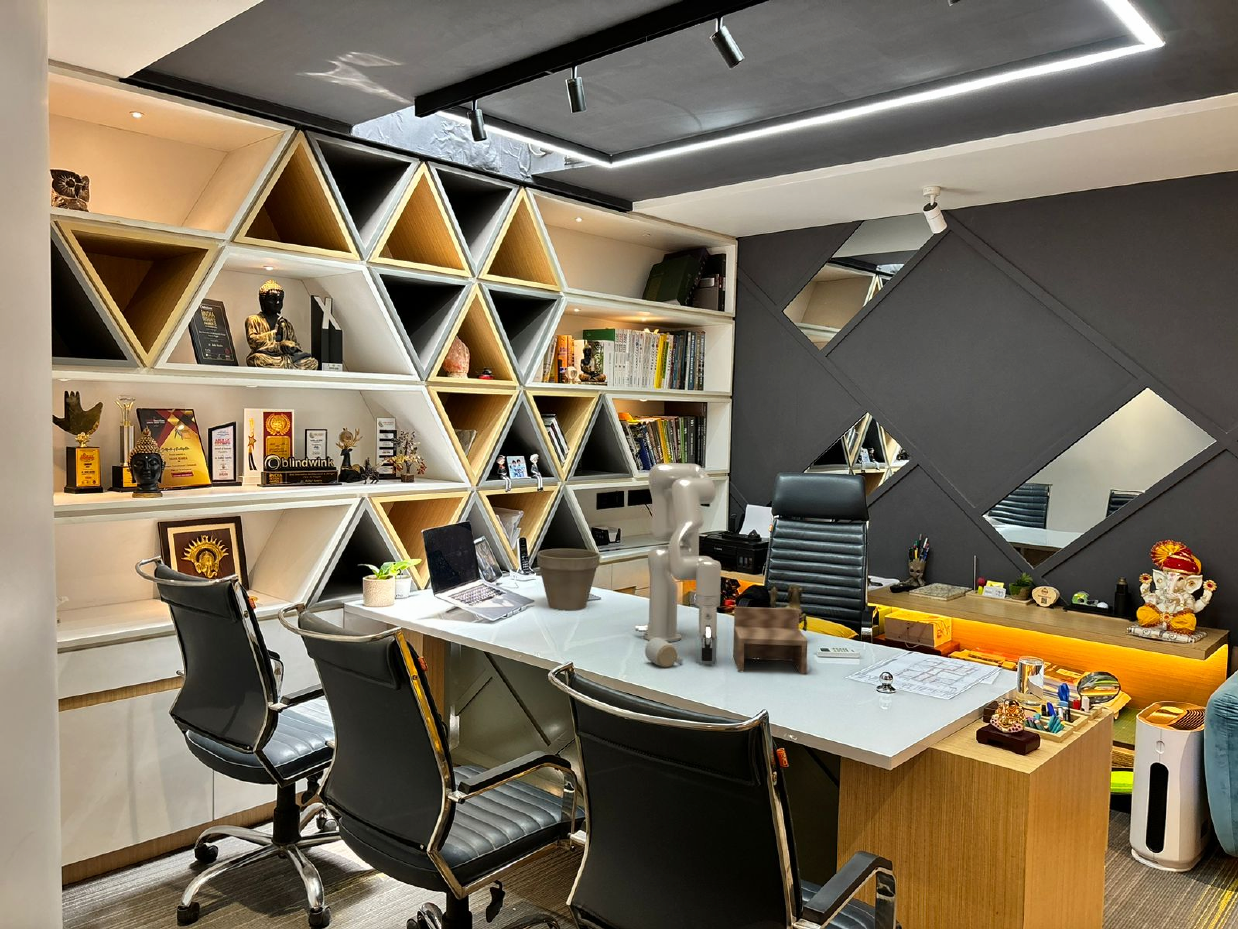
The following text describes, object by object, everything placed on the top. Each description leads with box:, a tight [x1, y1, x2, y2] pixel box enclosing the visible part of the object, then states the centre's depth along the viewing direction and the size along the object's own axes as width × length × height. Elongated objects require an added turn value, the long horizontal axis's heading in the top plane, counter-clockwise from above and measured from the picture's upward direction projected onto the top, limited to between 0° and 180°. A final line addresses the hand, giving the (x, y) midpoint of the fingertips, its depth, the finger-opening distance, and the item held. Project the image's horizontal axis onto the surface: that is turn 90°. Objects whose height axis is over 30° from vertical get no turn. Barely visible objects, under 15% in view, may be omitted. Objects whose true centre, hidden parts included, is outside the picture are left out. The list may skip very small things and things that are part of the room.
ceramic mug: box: [644, 637, 684, 668], centre depth 274 cm, size 11×8×8 cm
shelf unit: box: [732, 606, 808, 675], centre depth 276 cm, size 20×17×16 cm
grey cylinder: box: [694, 633, 718, 666], centre depth 278 cm, size 6×6×8 cm
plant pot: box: [536, 548, 601, 612], centre depth 358 cm, size 25×25×22 cm
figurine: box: [770, 583, 808, 632], centre depth 305 cm, size 13×25×20 cm, turn 134°
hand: (705, 657), depth 278 cm, fingers open, 7 cm apart
